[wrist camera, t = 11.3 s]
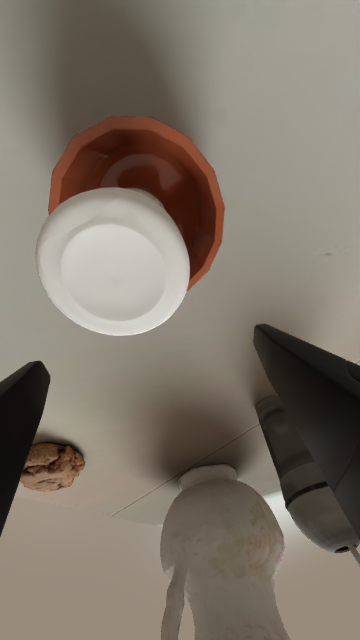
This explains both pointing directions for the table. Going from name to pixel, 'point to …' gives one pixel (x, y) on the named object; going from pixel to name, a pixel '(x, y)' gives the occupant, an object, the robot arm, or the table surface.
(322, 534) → the beverage cup
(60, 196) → the bowl
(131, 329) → the sprinkles bottle
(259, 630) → the ceramic pitcher
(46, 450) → the cookie
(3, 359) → the table surface
